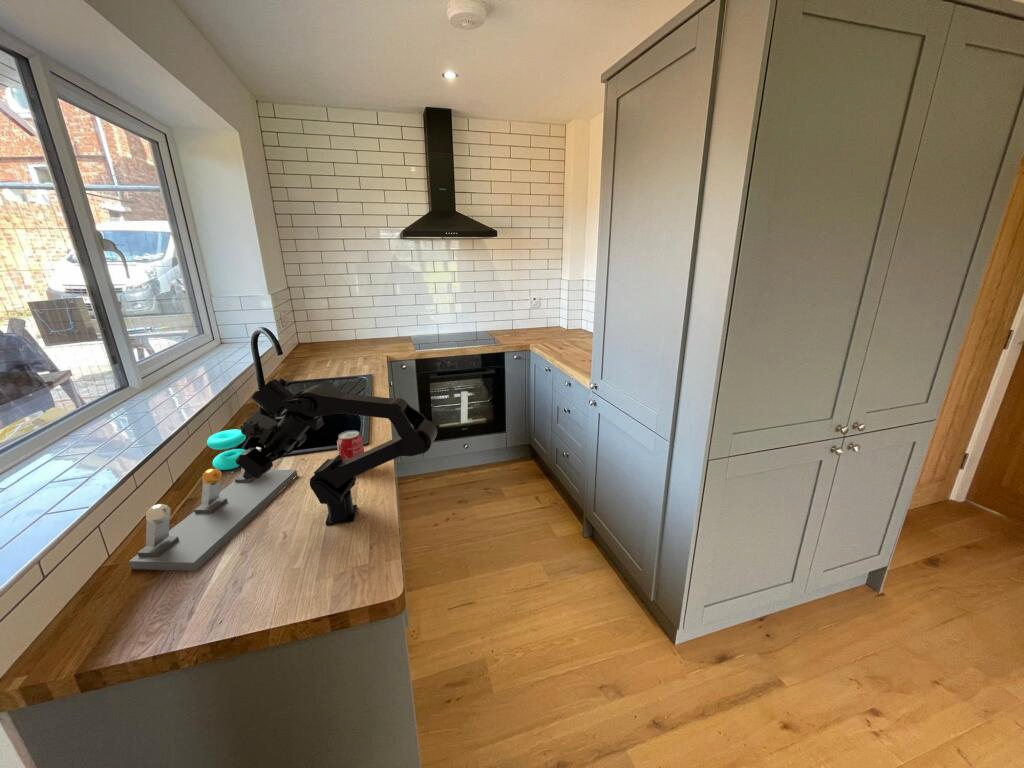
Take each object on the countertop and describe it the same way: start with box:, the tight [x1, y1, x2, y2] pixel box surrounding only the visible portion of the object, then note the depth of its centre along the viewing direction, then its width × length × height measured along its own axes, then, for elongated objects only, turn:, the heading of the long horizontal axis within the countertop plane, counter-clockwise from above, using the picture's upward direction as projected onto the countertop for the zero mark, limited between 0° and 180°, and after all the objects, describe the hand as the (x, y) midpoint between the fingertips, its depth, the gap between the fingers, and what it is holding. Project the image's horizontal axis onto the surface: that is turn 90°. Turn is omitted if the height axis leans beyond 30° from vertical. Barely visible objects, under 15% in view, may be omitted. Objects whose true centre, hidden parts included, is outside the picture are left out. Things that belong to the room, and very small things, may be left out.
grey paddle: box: [240, 446, 262, 476], centre depth 115 cm, size 1×6×6 cm, turn 178°
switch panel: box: [128, 469, 298, 571], centre depth 102 cm, size 14×38×3 cm, turn 177°
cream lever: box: [145, 503, 172, 547], centre depth 86 cm, size 4×4×9 cm
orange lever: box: [200, 468, 223, 506], centre depth 100 cm, size 4×4×9 cm
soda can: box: [336, 430, 365, 459], centre depth 121 cm, size 7×7×12 cm
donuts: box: [206, 428, 247, 471], centre depth 127 cm, size 10×10×10 cm
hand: (255, 470), depth 98 cm, fingers open, 7 cm apart
